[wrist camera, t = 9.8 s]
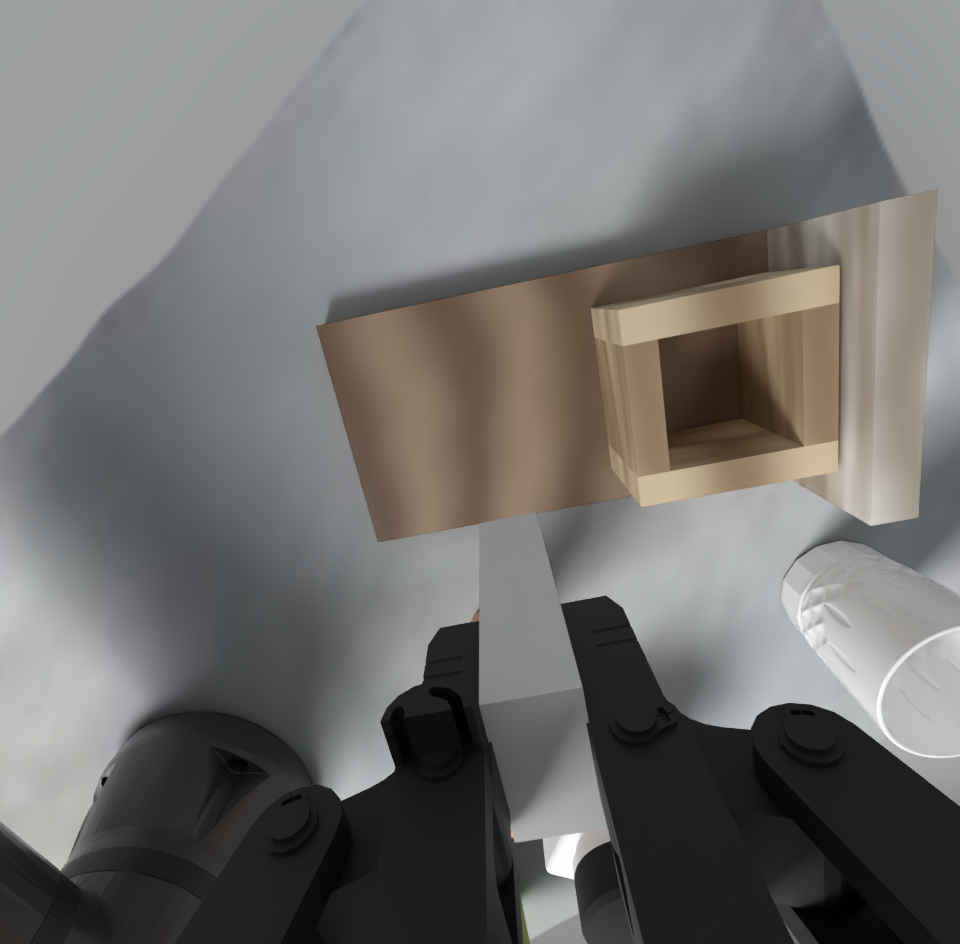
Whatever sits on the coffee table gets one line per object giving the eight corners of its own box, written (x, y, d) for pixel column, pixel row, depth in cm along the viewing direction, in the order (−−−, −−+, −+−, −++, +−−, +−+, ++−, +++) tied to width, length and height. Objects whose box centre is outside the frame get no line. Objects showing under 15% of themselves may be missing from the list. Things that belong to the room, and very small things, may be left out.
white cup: (777, 534, 33) (894, 626, 24) (904, 528, 33) (1072, 618, 24) (764, 639, 36) (865, 761, 26) (881, 634, 36) (1026, 756, 26)
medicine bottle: (534, 777, 40) (554, 969, 28) (567, 704, 38) (603, 879, 26) (622, 800, 40) (676, 996, 29) (659, 729, 38) (734, 911, 27)
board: (382, 532, 34) (345, 616, 25) (324, 324, 30) (254, 335, 21) (798, 455, 32) (922, 516, 23) (794, 224, 28) (943, 188, 19)
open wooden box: (611, 468, 30) (640, 507, 25) (590, 308, 28) (618, 310, 22) (770, 438, 30) (838, 471, 24) (764, 272, 27) (839, 264, 21)
